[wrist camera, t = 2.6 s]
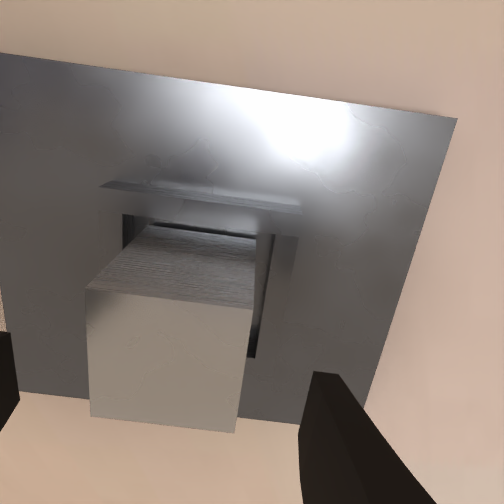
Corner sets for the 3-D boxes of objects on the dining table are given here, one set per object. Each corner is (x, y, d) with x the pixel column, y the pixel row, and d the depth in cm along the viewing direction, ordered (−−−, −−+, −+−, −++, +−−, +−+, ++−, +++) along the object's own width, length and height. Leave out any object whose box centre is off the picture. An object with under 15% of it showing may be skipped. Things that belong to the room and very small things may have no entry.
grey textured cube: (145, 328, 15) (91, 429, 10) (147, 225, 13) (84, 288, 8) (241, 340, 15) (232, 446, 10) (256, 239, 13) (253, 310, 8)
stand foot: (31, 372, 18) (-5, 413, 15) (-9, 53, 12) (-72, 40, 10) (350, 411, 18) (363, 457, 16) (440, 117, 13) (481, 119, 10)
